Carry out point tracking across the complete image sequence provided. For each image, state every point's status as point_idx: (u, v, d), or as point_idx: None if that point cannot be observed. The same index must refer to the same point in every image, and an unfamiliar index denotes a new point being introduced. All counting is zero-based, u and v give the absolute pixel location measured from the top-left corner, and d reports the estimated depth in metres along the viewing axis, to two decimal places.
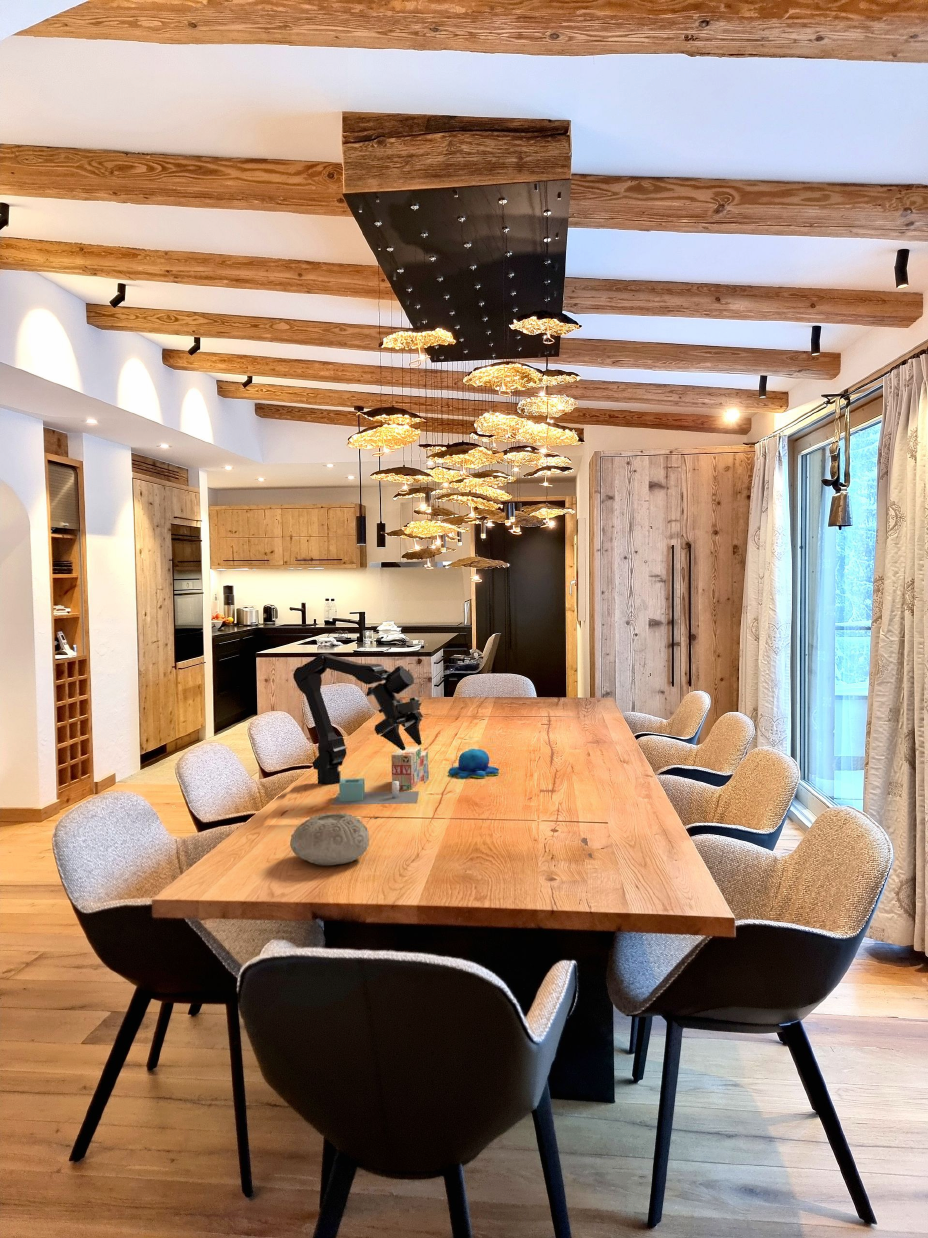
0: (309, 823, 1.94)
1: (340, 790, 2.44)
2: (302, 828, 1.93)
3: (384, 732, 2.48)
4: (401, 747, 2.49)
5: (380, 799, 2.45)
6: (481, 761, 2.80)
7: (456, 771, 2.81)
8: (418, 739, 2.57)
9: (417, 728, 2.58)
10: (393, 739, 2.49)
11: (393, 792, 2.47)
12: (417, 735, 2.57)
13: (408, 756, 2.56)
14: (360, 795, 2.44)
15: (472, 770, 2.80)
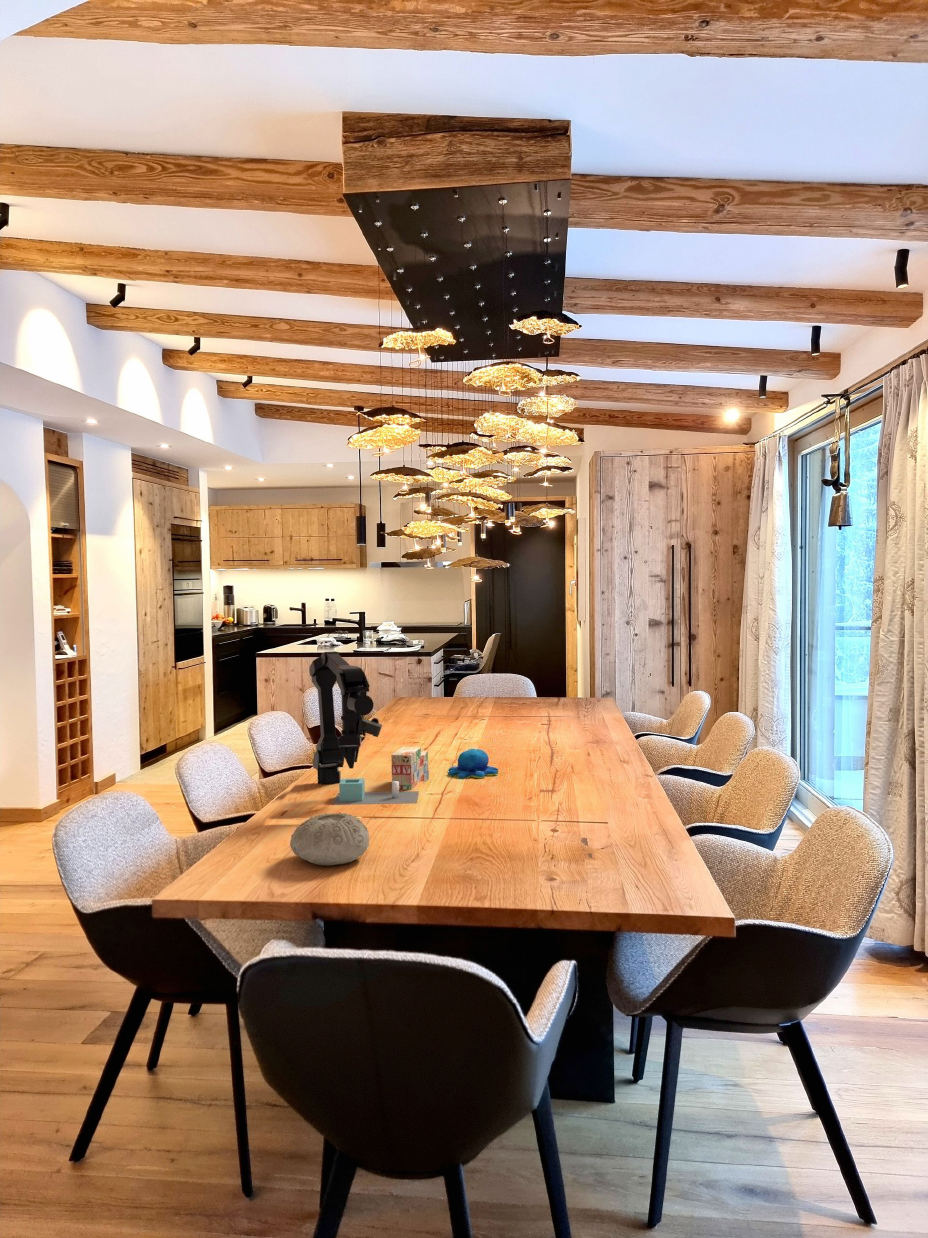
0: (309, 823, 1.94)
1: (340, 790, 2.44)
2: (302, 828, 1.93)
3: (346, 746, 2.39)
4: (351, 765, 2.42)
5: (380, 799, 2.45)
6: (480, 761, 2.80)
7: (455, 771, 2.82)
8: (356, 756, 2.52)
9: None
10: (348, 754, 2.41)
11: (393, 792, 2.47)
12: (357, 752, 2.52)
13: (408, 756, 2.57)
14: (360, 795, 2.44)
15: (471, 770, 2.80)
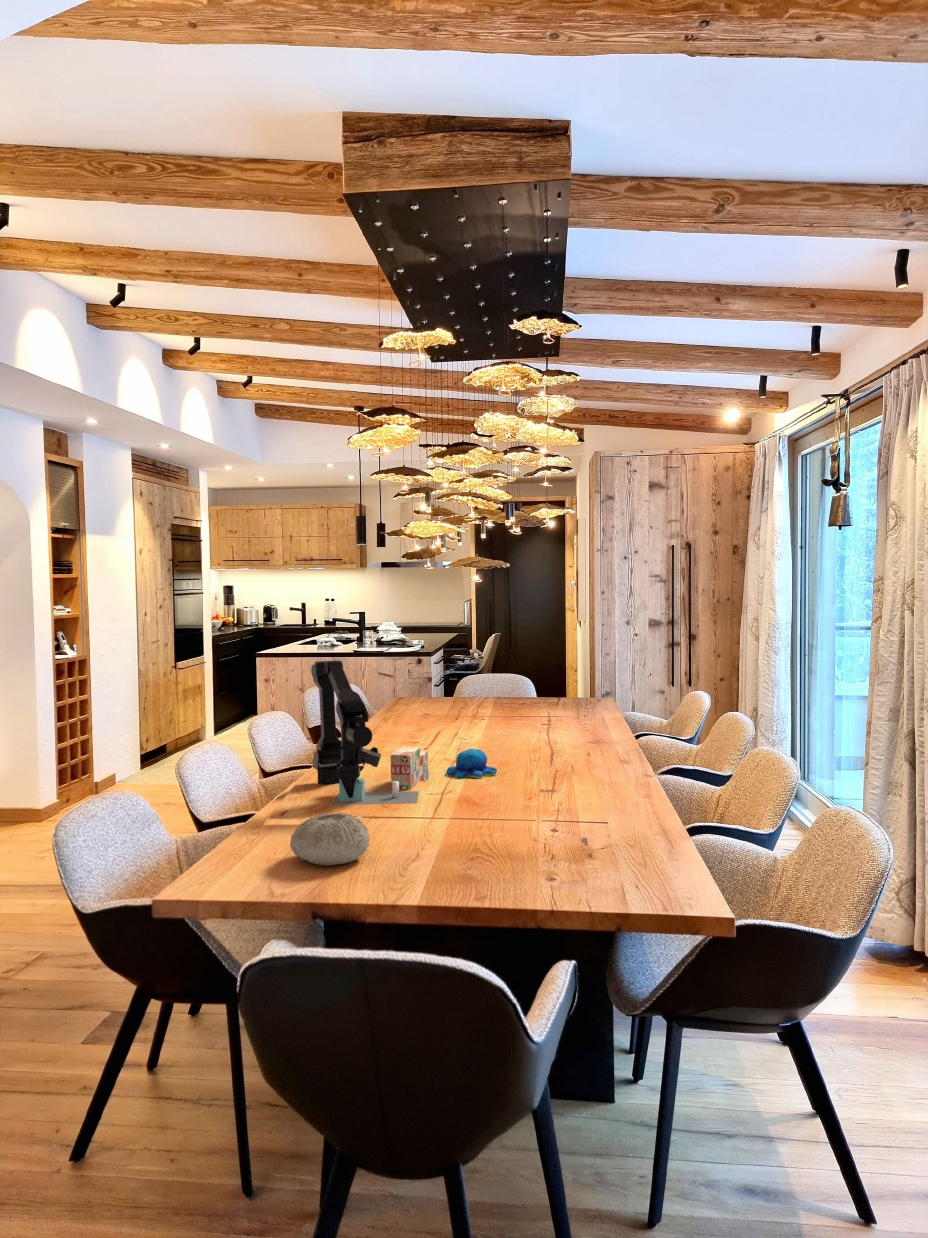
0: (309, 823, 1.94)
1: (340, 790, 2.44)
2: (302, 828, 1.93)
3: None
4: (350, 794, 2.43)
5: (380, 799, 2.45)
6: (478, 761, 2.80)
7: (453, 771, 2.82)
8: None
9: None
10: (347, 784, 2.43)
11: (393, 792, 2.47)
12: None
13: (407, 756, 2.57)
14: (360, 795, 2.44)
15: (469, 770, 2.80)
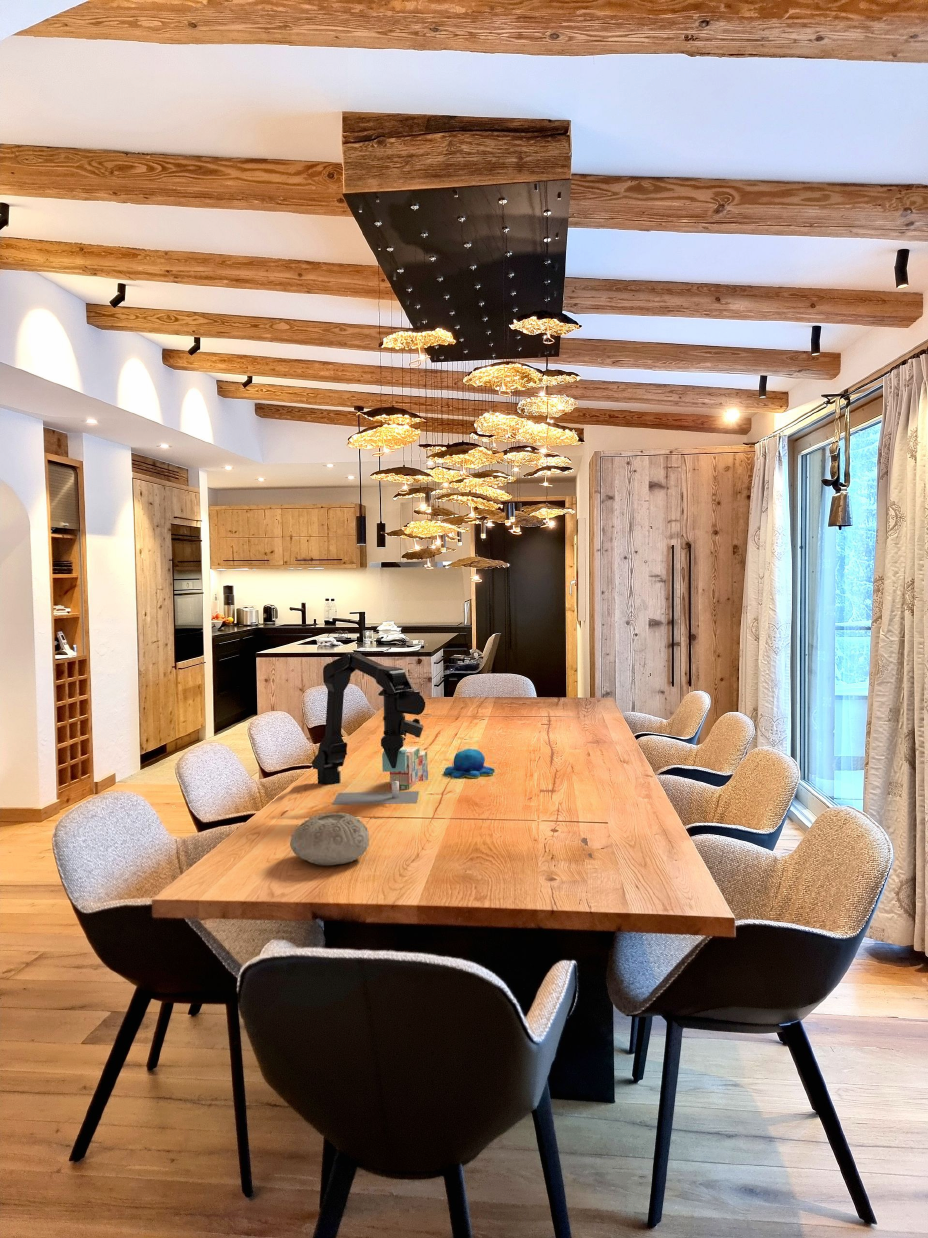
0: (309, 823, 1.94)
1: (383, 760, 2.44)
2: (302, 828, 1.93)
3: None
4: (394, 764, 2.43)
5: (380, 799, 2.45)
6: (475, 761, 2.80)
7: (450, 771, 2.82)
8: None
9: None
10: (390, 754, 2.42)
11: (393, 792, 2.47)
12: None
13: (406, 756, 2.57)
14: (403, 766, 2.44)
15: (466, 770, 2.80)
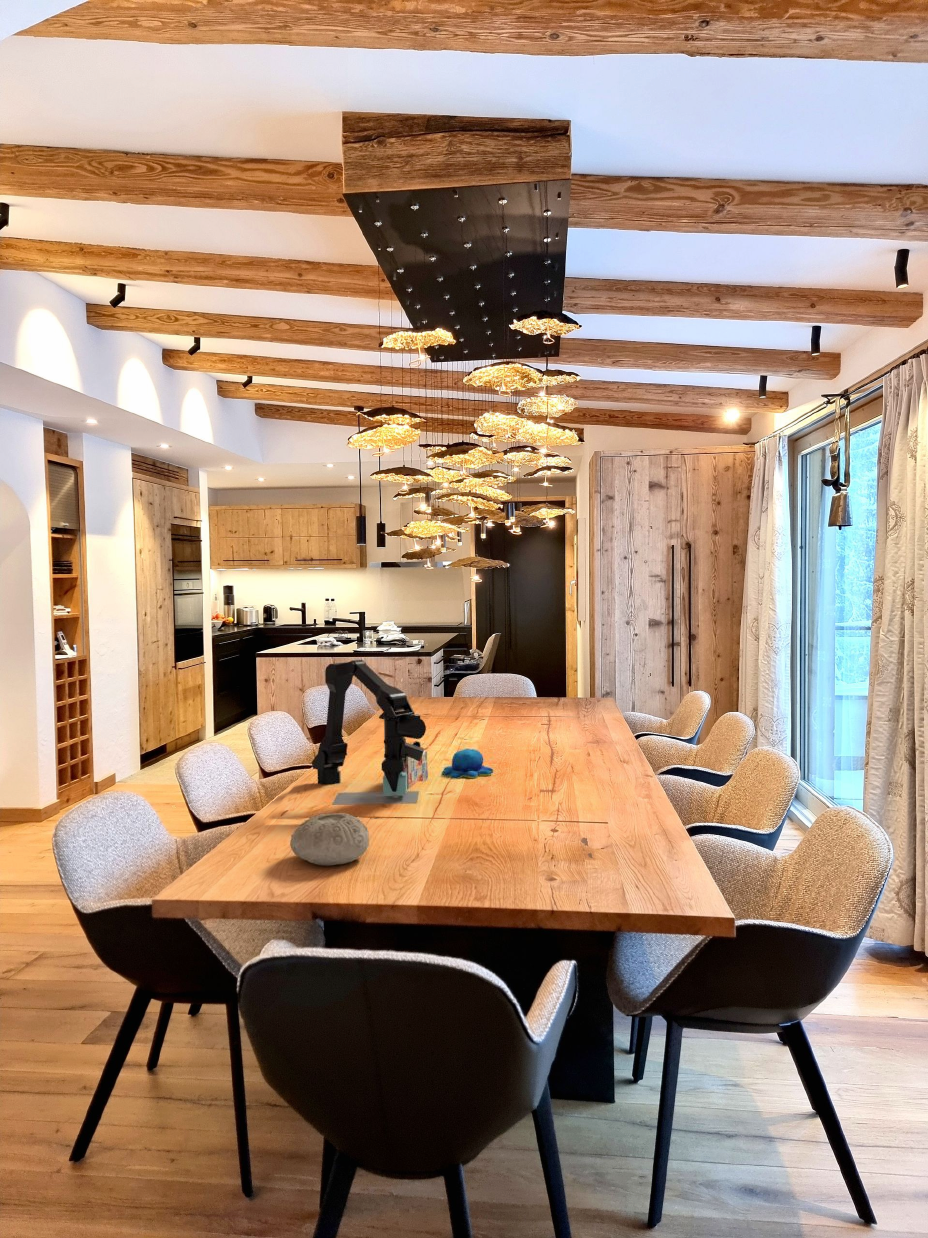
0: (309, 823, 1.94)
1: (384, 784, 2.44)
2: (302, 828, 1.93)
3: None
4: (394, 788, 2.44)
5: (380, 799, 2.45)
6: (473, 761, 2.80)
7: (449, 770, 2.83)
8: None
9: None
10: (391, 778, 2.43)
11: None
12: None
13: None
14: (404, 789, 2.44)
15: (464, 770, 2.80)
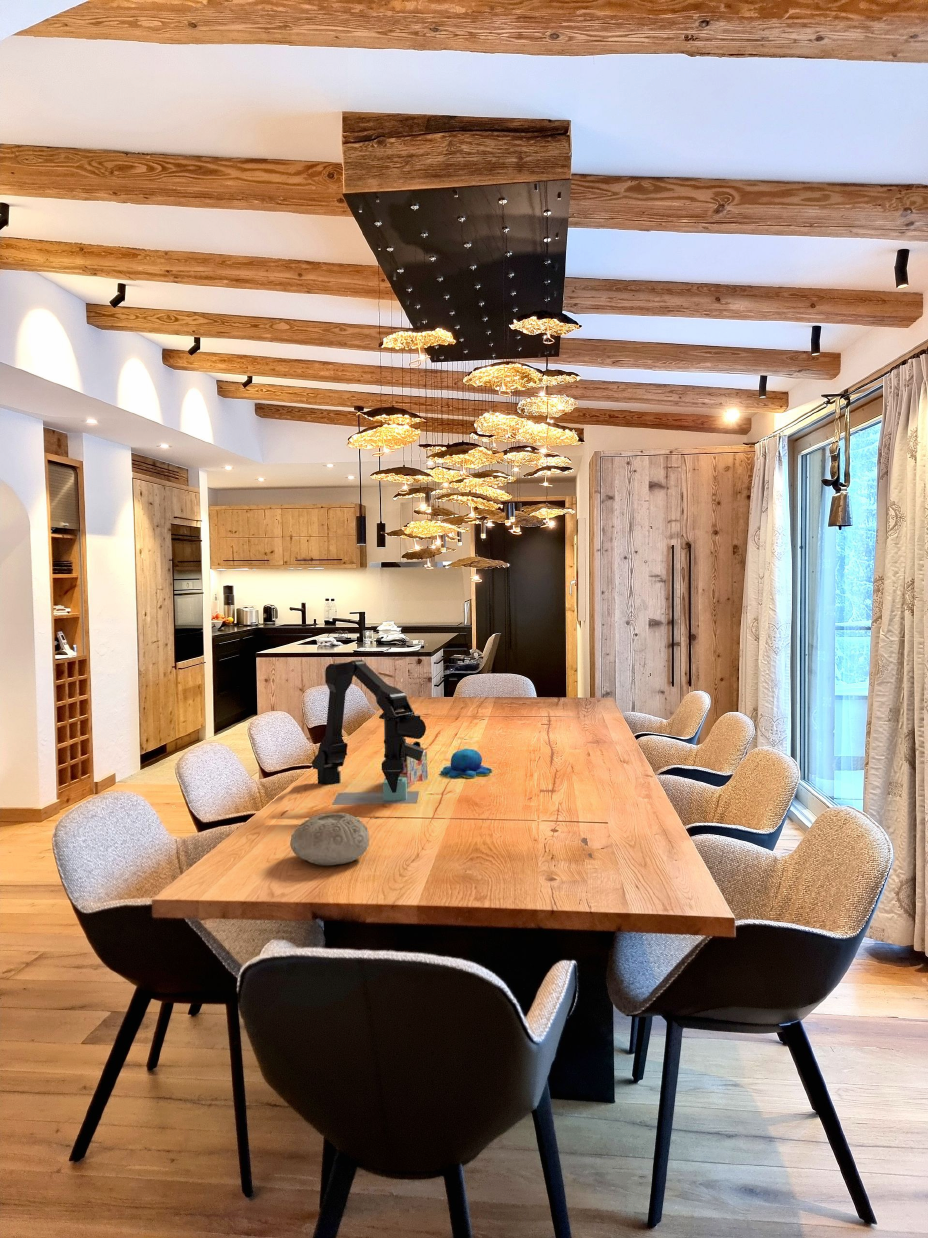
0: (309, 823, 1.94)
1: (384, 789, 2.44)
2: (302, 828, 1.93)
3: (389, 771, 2.39)
4: (394, 789, 2.42)
5: (380, 799, 2.45)
6: (471, 761, 2.80)
7: (447, 770, 2.83)
8: None
9: None
10: (391, 779, 2.41)
11: None
12: (398, 775, 2.52)
13: None
14: (404, 794, 2.44)
15: (462, 770, 2.81)
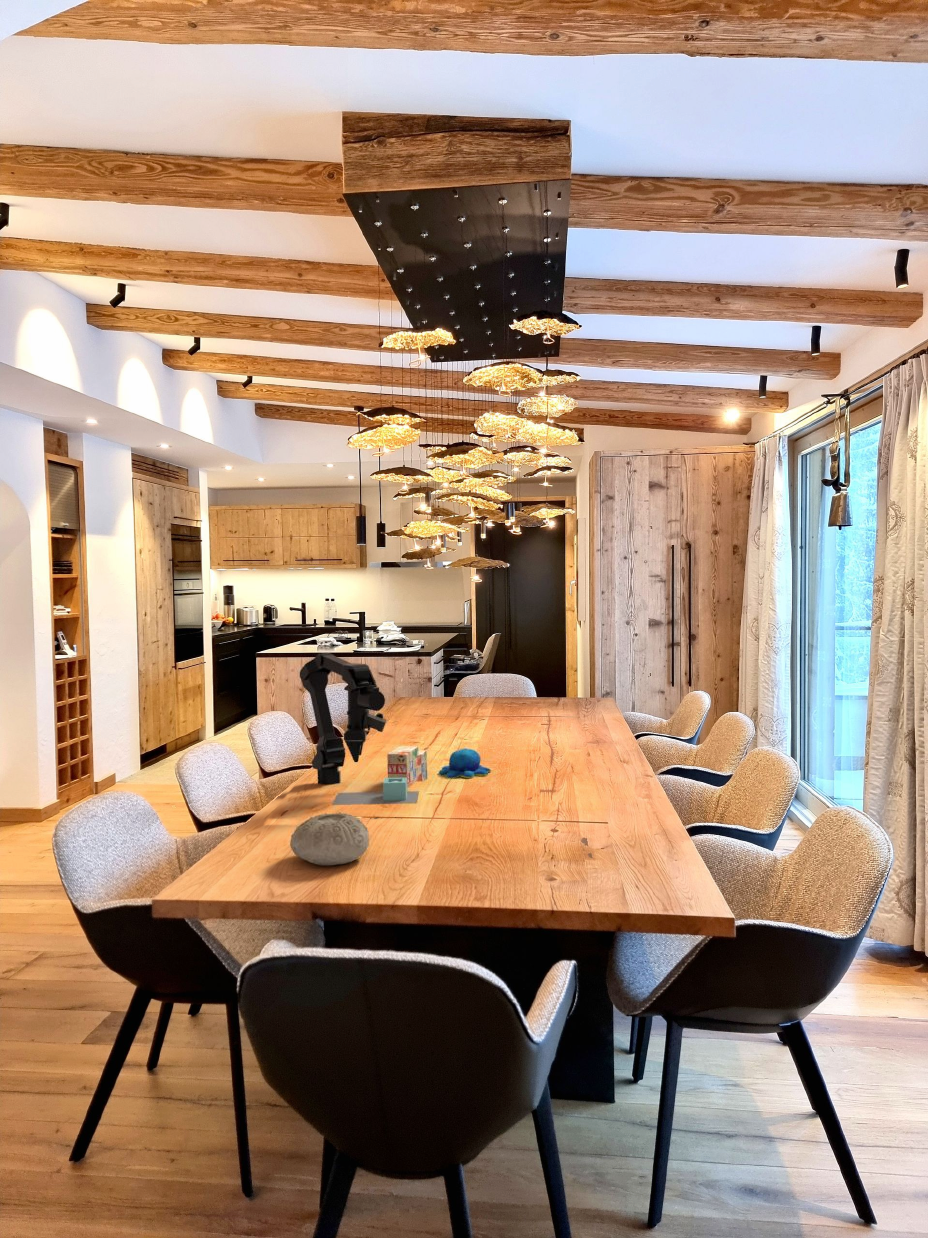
0: (309, 823, 1.94)
1: (384, 789, 2.44)
2: (302, 828, 1.93)
3: None
4: (356, 758, 2.50)
5: (380, 799, 2.45)
6: (469, 761, 2.80)
7: (446, 770, 2.83)
8: (360, 750, 2.59)
9: None
10: (353, 749, 2.49)
11: None
12: (361, 745, 2.59)
13: (404, 755, 2.58)
14: (404, 794, 2.44)
15: (460, 770, 2.81)
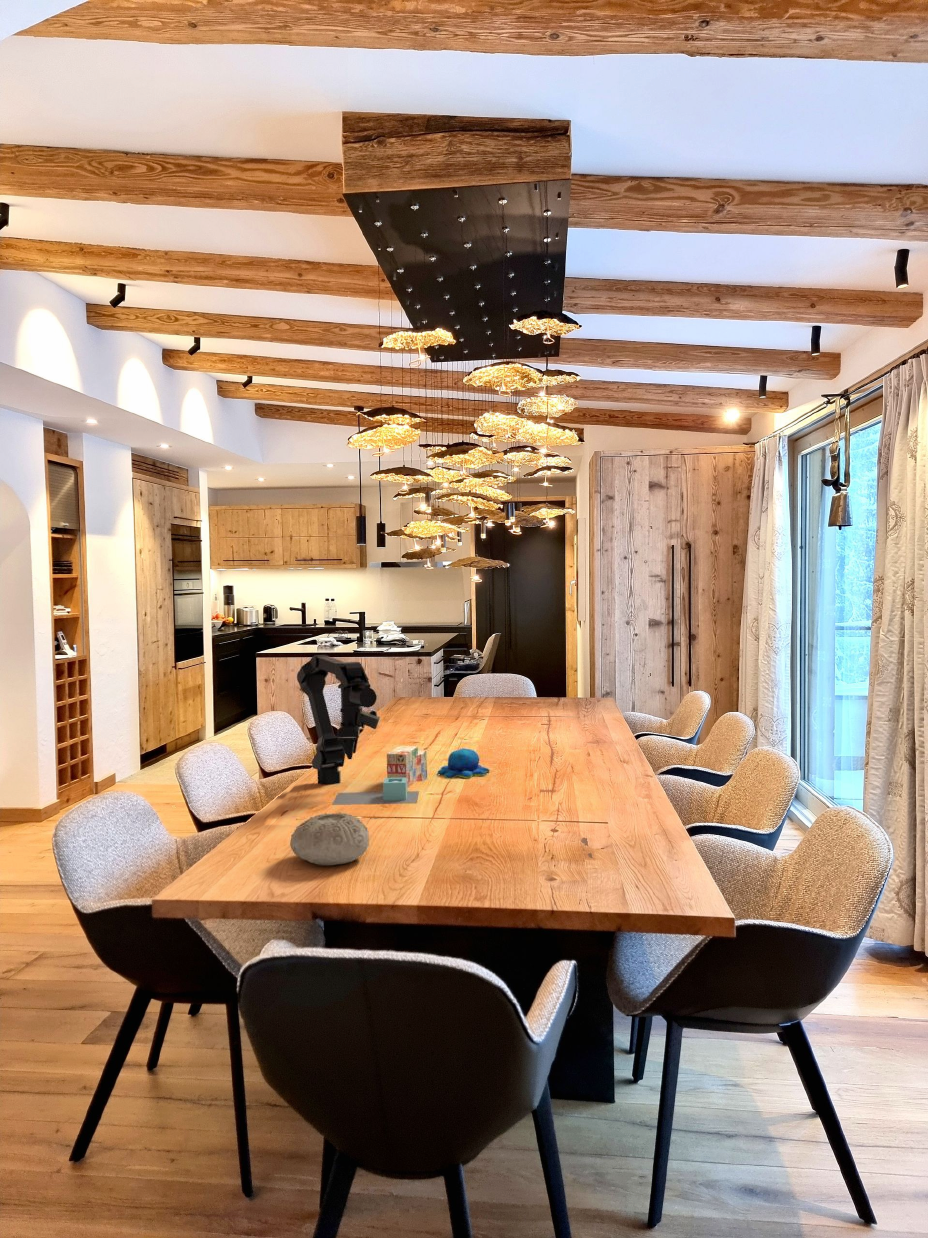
0: (309, 823, 1.94)
1: (384, 789, 2.44)
2: (302, 828, 1.93)
3: (344, 737, 2.48)
4: (350, 756, 2.51)
5: (380, 799, 2.45)
6: (468, 761, 2.80)
7: (444, 770, 2.83)
8: (354, 747, 2.60)
9: None
10: (346, 746, 2.50)
11: None
12: (355, 743, 2.60)
13: (403, 755, 2.58)
14: (404, 794, 2.44)
15: (459, 770, 2.81)
